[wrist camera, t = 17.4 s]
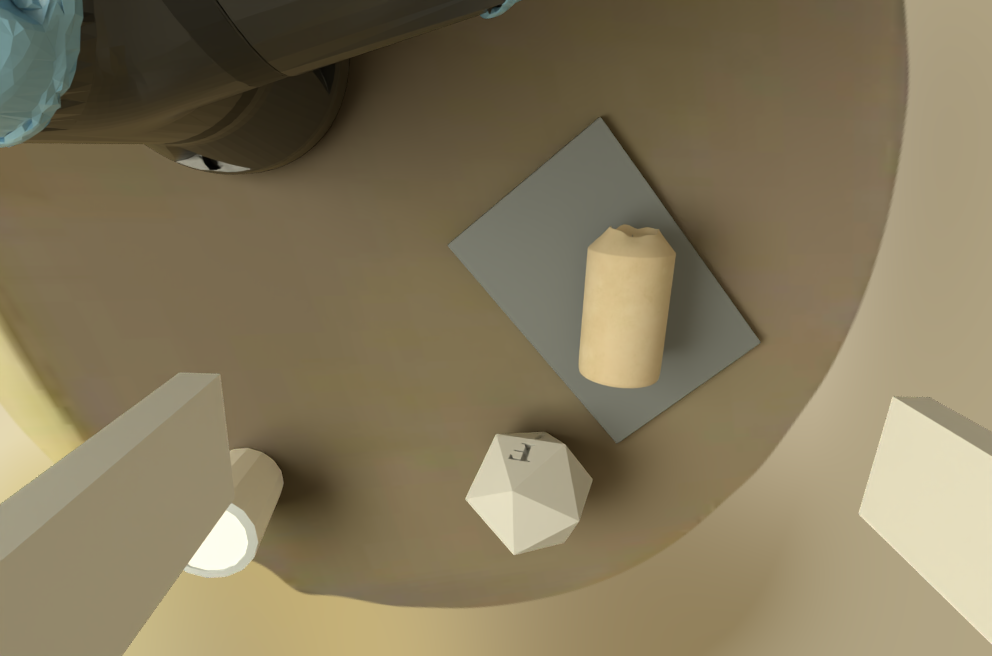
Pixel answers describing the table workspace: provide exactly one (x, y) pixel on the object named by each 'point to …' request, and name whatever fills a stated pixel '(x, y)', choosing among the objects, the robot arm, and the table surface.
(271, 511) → the shot glass
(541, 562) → the table surface
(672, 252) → the candle
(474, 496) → the die
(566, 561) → the table surface
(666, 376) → the mat
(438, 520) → the table surface
